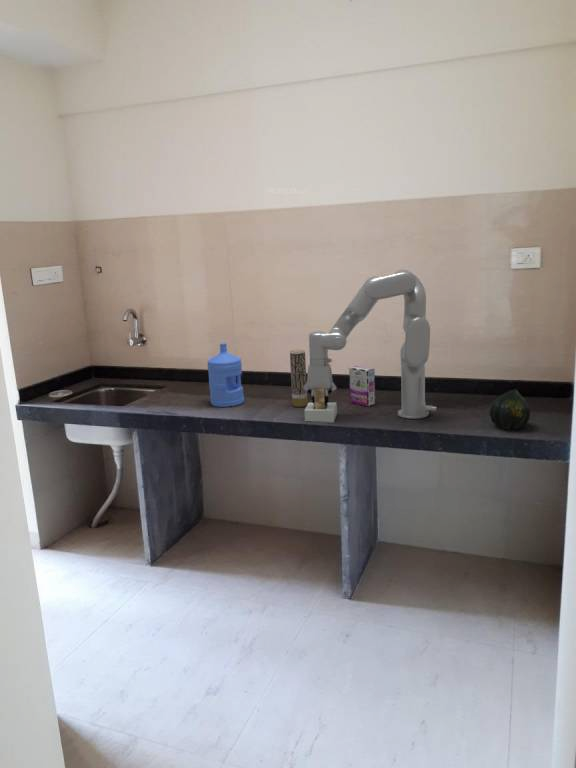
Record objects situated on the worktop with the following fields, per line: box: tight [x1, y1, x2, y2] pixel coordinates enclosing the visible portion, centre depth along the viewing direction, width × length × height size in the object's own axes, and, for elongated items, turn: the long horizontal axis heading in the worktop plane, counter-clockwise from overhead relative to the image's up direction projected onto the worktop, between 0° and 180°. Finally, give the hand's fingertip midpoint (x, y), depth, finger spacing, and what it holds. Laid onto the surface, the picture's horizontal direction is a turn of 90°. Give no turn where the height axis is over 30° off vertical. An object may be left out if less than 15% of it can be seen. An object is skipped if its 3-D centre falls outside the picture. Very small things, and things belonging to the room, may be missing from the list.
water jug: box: [207, 343, 245, 408], centre depth 294 cm, size 16×16×28 cm
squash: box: [489, 388, 531, 431], centre depth 243 cm, size 14×15×15 cm
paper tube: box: [289, 349, 308, 408], centre depth 284 cm, size 7×7×25 cm
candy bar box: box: [348, 365, 376, 407], centre depth 283 cm, size 11×5×16 cm, turn 42°
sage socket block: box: [303, 402, 338, 423], centre depth 266 cm, size 12×12×5 cm
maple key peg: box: [314, 389, 326, 409], centre depth 265 cm, size 4×6×10 cm, turn 170°
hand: (320, 404), depth 266 cm, fingers closed on maple key peg, 4 cm apart
